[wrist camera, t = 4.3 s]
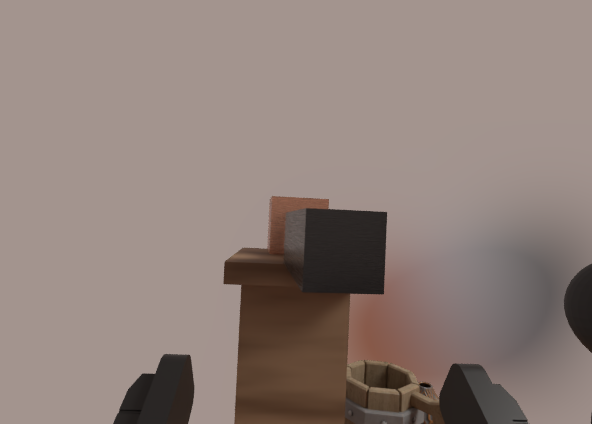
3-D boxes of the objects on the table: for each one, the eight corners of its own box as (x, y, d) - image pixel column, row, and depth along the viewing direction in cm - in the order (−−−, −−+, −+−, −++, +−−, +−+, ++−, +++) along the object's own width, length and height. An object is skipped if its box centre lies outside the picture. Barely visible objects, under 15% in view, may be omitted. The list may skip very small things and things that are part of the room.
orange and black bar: (400, 294, 15) (405, 178, 15) (284, 292, 14) (289, 171, 15) (314, 250, 37) (317, 202, 37) (267, 248, 36) (269, 200, 36)
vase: (431, 457, 54) (433, 399, 54) (392, 434, 59) (395, 381, 59) (453, 441, 58) (455, 387, 58) (415, 421, 63) (417, 372, 64)
